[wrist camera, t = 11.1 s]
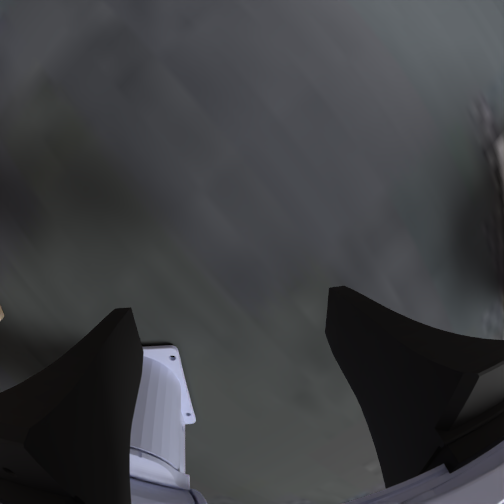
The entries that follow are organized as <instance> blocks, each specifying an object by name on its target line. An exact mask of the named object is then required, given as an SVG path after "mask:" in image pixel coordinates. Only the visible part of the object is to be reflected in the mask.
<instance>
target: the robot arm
mask: <svg viewBox="0 0 504 504" xmlns="http://www.w3.org/2000/svg"><path fill="white" fill-rule="evenodd" d="M325 334H326V337H327V339H328V342H329V345H330V348H331V350H332V353H333V355H334V357H335V359H336V361H337V362H338V364H339V366H340V368H341V370H342V372H343V374H344V375H345V377H346V379H347V381H348V383H349V384H350V386H351V388H352V390H353V392H354V394H355V395H356V397H357V400H358V402H359V404H360V406H361V408H362V411H363V414H364V416H365V419H366V422H367V424H368V427H369V430H370V433H371V436H372V439H373V442H374V445H375V448H376V452H377V455H378V459H379V462H380V466H381V469H382V474H383V478H384V482H385V487H386V489H384V490H381V491H379V492H376V493H373V494H370V495H367V496H364V497H361V498H358V499H355V500H351V501H348V502H345V503H341V504H504V340H492V339H482V338H475V337H469V336H464V335H459V334H455V333H451V332H447V331H443V330H440V329H437V328H433V327H430V326H428V325H425V324H422V323H419V322H417V321H414V320H412V319H409V318H407V317H405V316H403V315H401V314H399V313H396V312H394V311H392V310H390V309H388V308H386V307H384V306H382V305H381V304H379V303H377V302H375V301H373V300H371V299H369V298H368V297H366V296H364V295H362V294H360V293H358V292H356V291H354V290H353V289H350V288H348V287H346V286H339V287H332V288H329V296H328V307H327V318H326V328H325ZM171 356H175V357H171ZM195 422H196V417H195V414H194V410H193V407H192V403H191V399H190V396H189V392H188V388H187V384H186V380H185V376H184V372H183V368H182V364H181V360H180V356H179V352H178V349H177V347H175V346H173V345H165V346H146V347H142V344H141V341H140V338H139V334H138V331H137V327H136V324H135V320H134V317H133V313H132V309H131V308H117V309H115V310H113V311H112V312H111V313H110V314H109V315H107V316H106V317H105V318H104V319H103V320H102V321H101V322H100V323H99V324H98V325H97V326H96V327H95V328H94V329H93V330H91V331H90V332H89V333H88V334H87V335H86V336H85V337H84V338H83V339H82V340H81V341H79V342H78V343H77V344H76V345H75V346H74V347H73V348H71V349H70V350H69V351H68V352H67V353H66V354H64V355H63V356H62V357H61V358H59V359H58V360H57V361H55V362H54V363H52V364H51V365H50V366H48V367H47V368H45V369H44V370H42V371H41V372H39V373H37V374H36V375H34V376H32V377H31V378H29V379H27V380H26V381H24V382H22V383H20V384H18V385H16V386H14V387H12V388H10V389H8V390H5V391H3V392H1V393H0V504H208V503H207V502H206V500H205V498H204V497H203V495H202V494H201V493H200V492H199V491H197V490H195V489H190V476H189V475H188V474H185V424H193V423H195Z"/></svg>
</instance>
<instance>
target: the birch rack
mask: <svg viewBox="0 0 504 504" xmlns="http://www.w3.org/2000/svg"><path fill="white" fill-rule="evenodd" d="M3 317H4V313H3V311H2V308H1V306H0V321H1V320H2V319H3Z"/></svg>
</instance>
